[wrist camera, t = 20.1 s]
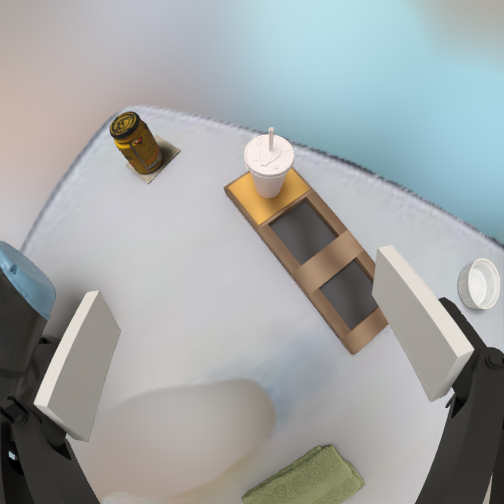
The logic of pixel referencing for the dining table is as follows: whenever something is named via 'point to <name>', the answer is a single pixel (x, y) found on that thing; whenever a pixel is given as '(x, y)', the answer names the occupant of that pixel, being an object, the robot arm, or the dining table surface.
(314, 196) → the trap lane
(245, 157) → the smoothie
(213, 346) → the dining table surface
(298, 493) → the washcloth
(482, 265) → the ramekin
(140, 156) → the condiment
